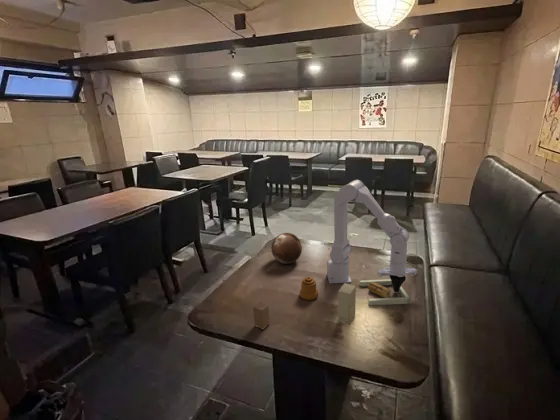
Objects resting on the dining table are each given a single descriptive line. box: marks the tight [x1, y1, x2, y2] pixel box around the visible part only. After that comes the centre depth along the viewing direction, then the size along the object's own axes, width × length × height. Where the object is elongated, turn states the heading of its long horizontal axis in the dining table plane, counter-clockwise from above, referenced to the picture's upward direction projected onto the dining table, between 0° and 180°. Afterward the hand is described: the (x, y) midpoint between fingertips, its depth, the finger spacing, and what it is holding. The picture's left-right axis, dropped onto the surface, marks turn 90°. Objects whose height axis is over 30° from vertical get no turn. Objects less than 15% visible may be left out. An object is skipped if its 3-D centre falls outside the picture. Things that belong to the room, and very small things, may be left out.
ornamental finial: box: [299, 276, 319, 301], centre depth 121 cm, size 8×8×8 cm
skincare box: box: [337, 283, 357, 325], centre depth 106 cm, size 6×4×12 cm
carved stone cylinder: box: [367, 282, 392, 298], centre depth 121 cm, size 8×4×4 cm, turn 35°
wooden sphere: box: [271, 232, 303, 265], centre depth 149 cm, size 15×15×15 cm
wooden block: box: [252, 301, 271, 328], centre depth 105 cm, size 4×4×8 cm
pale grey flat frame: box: [359, 278, 411, 306], centre depth 121 cm, size 15×14×2 cm
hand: (395, 290), depth 121 cm, fingers closed
